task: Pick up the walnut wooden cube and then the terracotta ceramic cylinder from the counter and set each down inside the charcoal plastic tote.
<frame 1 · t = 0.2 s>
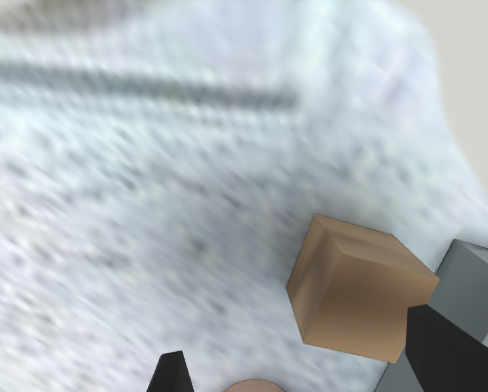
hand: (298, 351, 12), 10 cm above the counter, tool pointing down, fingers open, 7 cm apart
tote: (480, 374, 26), on the counter
walnut cube: (338, 261, 23), on the counter
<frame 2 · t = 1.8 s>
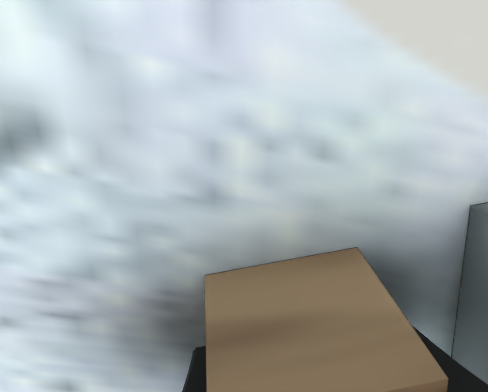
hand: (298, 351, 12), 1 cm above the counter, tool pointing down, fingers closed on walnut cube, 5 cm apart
walnut cube: (288, 319, 13), on the counter, touching gripper
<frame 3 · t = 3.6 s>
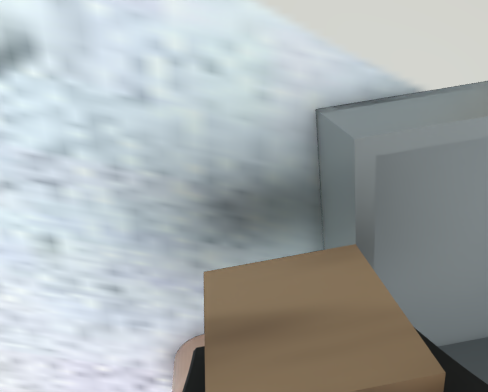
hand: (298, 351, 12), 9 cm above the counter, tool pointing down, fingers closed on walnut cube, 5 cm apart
terracotta cylinder: (212, 362, 25), on the counter
tote: (437, 238, 22), on the counter
walnut cube: (287, 316, 13), point 8 cm above the counter, touching gripper
when the fingers open (4 cm above the counter, at t = 5.8 s): walnut cube drops 2 cm, resting on tote.
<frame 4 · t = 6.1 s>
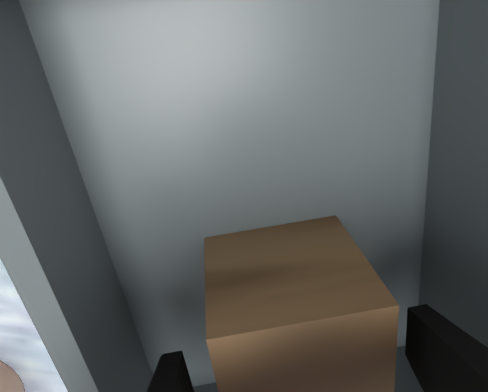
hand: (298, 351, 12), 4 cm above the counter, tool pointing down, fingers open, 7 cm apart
tote: (265, 206, 15), on the counter
walnut cube: (276, 280, 15), point 1 cm above the counter, touching tote
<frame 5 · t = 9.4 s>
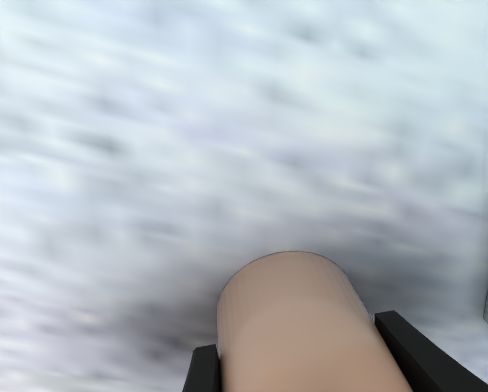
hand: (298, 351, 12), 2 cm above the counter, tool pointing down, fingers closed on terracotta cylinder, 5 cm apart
terracotta cylinder: (285, 309, 14), on the counter, touching gripper
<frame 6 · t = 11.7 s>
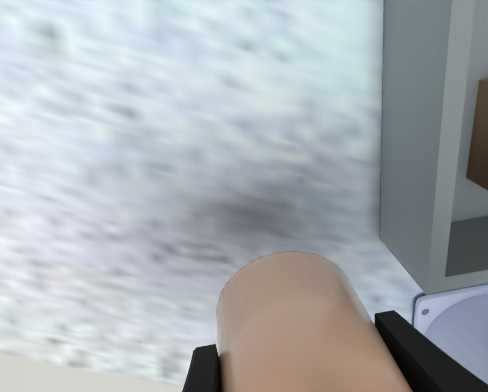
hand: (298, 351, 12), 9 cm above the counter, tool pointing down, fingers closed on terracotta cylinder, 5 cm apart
terracotta cylinder: (285, 309, 14), point 7 cm above the counter, touching gripper
when the fingers open (4 cm above the counter, at t = 14.5 s): terracotta cylinder drops 1 cm, resting on tote.
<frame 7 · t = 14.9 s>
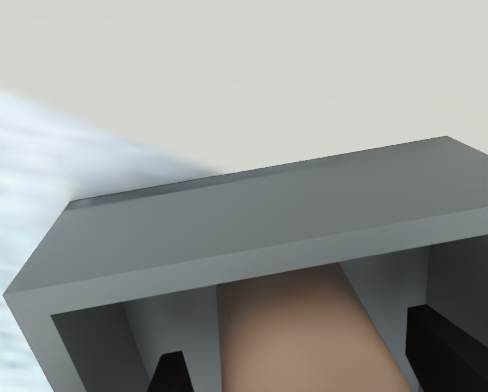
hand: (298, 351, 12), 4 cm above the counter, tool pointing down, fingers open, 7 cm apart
terracotta cylinder: (280, 290, 15), point 1 cm above the counter, touching tote
tote: (285, 347, 17), on the counter
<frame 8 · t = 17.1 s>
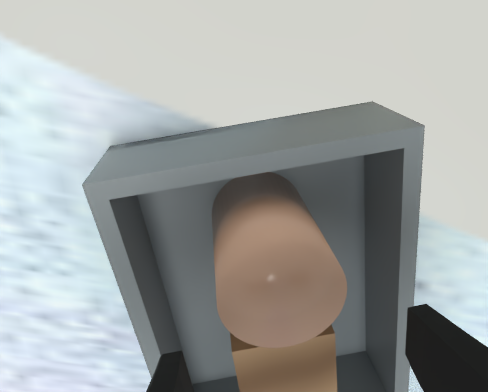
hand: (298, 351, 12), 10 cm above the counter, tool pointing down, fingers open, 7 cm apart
terracotta cylinder: (257, 213, 21), point 1 cm above the counter, touching tote
tote: (263, 264, 23), on the counter
walnut cube: (271, 310, 24), point 1 cm above the counter, touching tote
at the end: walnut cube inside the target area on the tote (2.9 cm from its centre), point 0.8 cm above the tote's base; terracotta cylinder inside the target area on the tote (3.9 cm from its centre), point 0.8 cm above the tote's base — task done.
